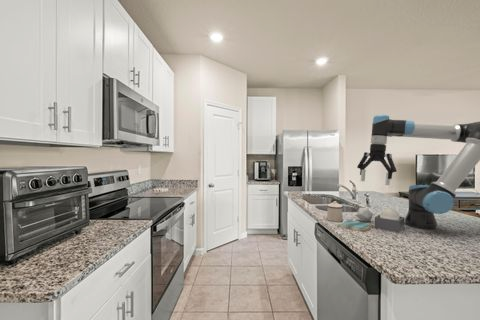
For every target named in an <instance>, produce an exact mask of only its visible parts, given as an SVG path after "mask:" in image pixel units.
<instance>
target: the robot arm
mask: <svg viewBox="0 0 480 320" xmlns="http://www.w3.org/2000/svg"><path fill="white" fill-rule="evenodd" d="M371 124H372V125H371V126H372V127H371V135H370V136H371V137H370V145H369V146H370V147H369V152H368V151H367V152H364V153H363V156H362V157H361V159H360V161H359V163H358V164H357V166H356V168H358V169H359V170H360V171H359V176H360V182H366V181H365V180H366V170H367V169H366V168H367V167H368V166H369V165H370V164H371V163H373V162H380V163H381V164H382V166H383V167H384V168H385V170H386V171H387V172H386V173H385V182H384V185H385V186H390V184H391V183H390V182H391V180H392V178H393V173H396V172H397V168H396V165H395V163H394V161H393V158H392V157H393V156H392V153H386V151H387V143H388V142H387V141H388V137H390V138H391V137H398V138H399V137H404V138H419V139H420V138H421V139H432V140H433V139H437V140H438V139H439V140H450V141H451V142H456V143H465V145H464V146H463V147H462V149H460V151H459V153H457V155H456V156H455V157H454V158H453V160H452V161H451V163H450V164H449V165H448V166H447V167H446V168H445V170H444V171H443V173H442V174H441V175H440V177H439V178H438V179H437V180H436V181H432V182H430V183H429V184H426V185H425V184H424V185H423V184H411V185H410V186H409V187H408V212H407V213H406V215H405V218H404V225H407V226H410V227H413V228H416V229H417V228H418V229H426V230H434V229H435V230H436V229H437V228H438V222H437V219H436V216H435V214H436V215H442V214H443V215H444V214H447V213H449V212H450V211H451V210H453V208H454V204H455V202H454V199H455V197H456V196H457V193H456V190H457V189H458V188H459V187H460V186H461V184H462V183H463V182H464V180H465V179H466V178H467V177H468V176H469V174H470V173H471V172H472V171H473V169H474V168H475V167H476V165H478V163H479V162H480V121H475V122H469V123H461V124H460V123H455V124H453V125H443V124H441V125H440V124H421V123H420V124H419V123H415V122H414V121H413V120H408V119H405V120H404V119H390V116H389V115H386V114H377V115H374V117H373V119H372V123H371ZM385 158H386V159H385Z"/></svg>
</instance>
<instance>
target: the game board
mask: <svg viewBox="0 0 480 320" xmlns="http://www.w3.org/2000/svg"><path fill="white" fill-rule="evenodd" d="M337 228H342V229H346V230H352V231H356V232H357V231H358V232H361V233H366V232H368V231H369V230H370V229H373V228H374V224H371V223H368V222H367V223H366V222H361V221H355V220H350V219H347V220H346V221H342V222H339V223H338V224H337Z"/></svg>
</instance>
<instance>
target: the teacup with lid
mask: <svg viewBox="0 0 480 320" xmlns="http://www.w3.org/2000/svg"><path fill="white" fill-rule="evenodd" d="M326 208H327V209H326V210H327V221H329V222H333V223H335V222H336V223H342V222H343V208H344V206H343V205H342V204H340V203H339V202H338V201H336V200H335V201H333V202H331V203H328V204H327V205H326Z"/></svg>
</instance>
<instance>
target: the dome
mask: <svg viewBox="0 0 480 320" xmlns="http://www.w3.org/2000/svg"><path fill="white" fill-rule="evenodd" d="M379 215H380V218H385V219H391V220H397V221H398V220H399V219H400V217H401V216H400V215H399V213H398V211H397V210H396V209H395V208H393V207H385V208H383V209H382V210H381V212H380V213H379Z"/></svg>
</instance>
